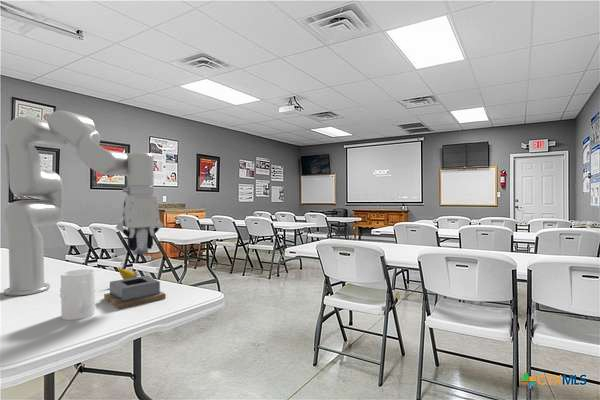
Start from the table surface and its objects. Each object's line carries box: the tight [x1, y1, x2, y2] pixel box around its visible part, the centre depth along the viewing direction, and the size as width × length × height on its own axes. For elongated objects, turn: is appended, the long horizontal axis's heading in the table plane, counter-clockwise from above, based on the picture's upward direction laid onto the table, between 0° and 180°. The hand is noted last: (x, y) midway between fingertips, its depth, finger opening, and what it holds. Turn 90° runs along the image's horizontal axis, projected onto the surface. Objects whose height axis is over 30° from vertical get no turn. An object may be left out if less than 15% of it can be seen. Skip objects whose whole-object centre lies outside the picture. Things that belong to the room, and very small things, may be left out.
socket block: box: [109, 275, 161, 302], centre depth 112 cm, size 11×11×4 cm
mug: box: [59, 268, 96, 321], centre depth 95 cm, size 8×12×12 cm
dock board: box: [103, 290, 167, 310], centre depth 112 cm, size 14×14×2 cm
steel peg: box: [132, 228, 149, 255], centre depth 109 cm, size 4×4×9 cm
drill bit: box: [116, 267, 138, 280], centre depth 129 cm, size 5×5×10 cm
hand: (140, 248), depth 110 cm, fingers closed on steel peg, 4 cm apart
